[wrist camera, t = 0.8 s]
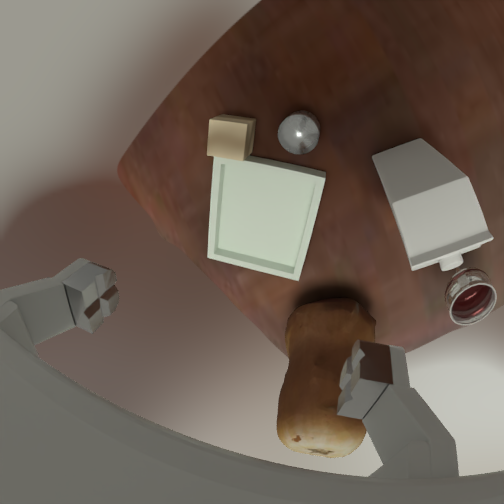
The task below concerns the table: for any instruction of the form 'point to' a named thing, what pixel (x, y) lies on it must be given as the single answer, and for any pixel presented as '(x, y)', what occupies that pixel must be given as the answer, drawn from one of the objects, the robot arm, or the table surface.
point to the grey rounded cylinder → (299, 132)
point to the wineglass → (469, 296)
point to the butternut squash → (321, 377)
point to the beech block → (231, 137)
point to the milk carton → (431, 205)
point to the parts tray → (263, 214)
